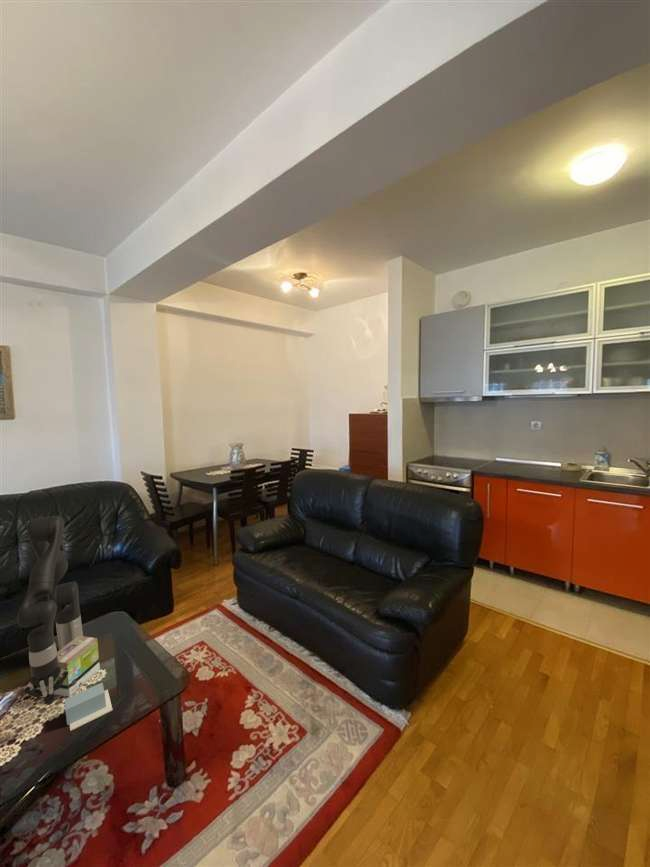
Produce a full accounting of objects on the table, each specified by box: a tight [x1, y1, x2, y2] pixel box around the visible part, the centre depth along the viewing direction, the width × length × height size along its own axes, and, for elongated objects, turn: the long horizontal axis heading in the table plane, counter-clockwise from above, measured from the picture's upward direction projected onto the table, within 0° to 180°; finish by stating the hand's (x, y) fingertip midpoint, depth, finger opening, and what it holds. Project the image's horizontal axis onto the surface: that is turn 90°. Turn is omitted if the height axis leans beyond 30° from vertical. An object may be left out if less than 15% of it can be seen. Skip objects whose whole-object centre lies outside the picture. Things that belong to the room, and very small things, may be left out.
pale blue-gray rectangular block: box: [64, 682, 106, 726], centre depth 135 cm, size 6×6×12 cm
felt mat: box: [69, 689, 113, 732], centre depth 136 cm, size 12×13×1 cm
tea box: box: [53, 635, 101, 698], centre depth 149 cm, size 15×10×15 cm, turn 168°
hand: (49, 702), depth 128 cm, fingers closed
